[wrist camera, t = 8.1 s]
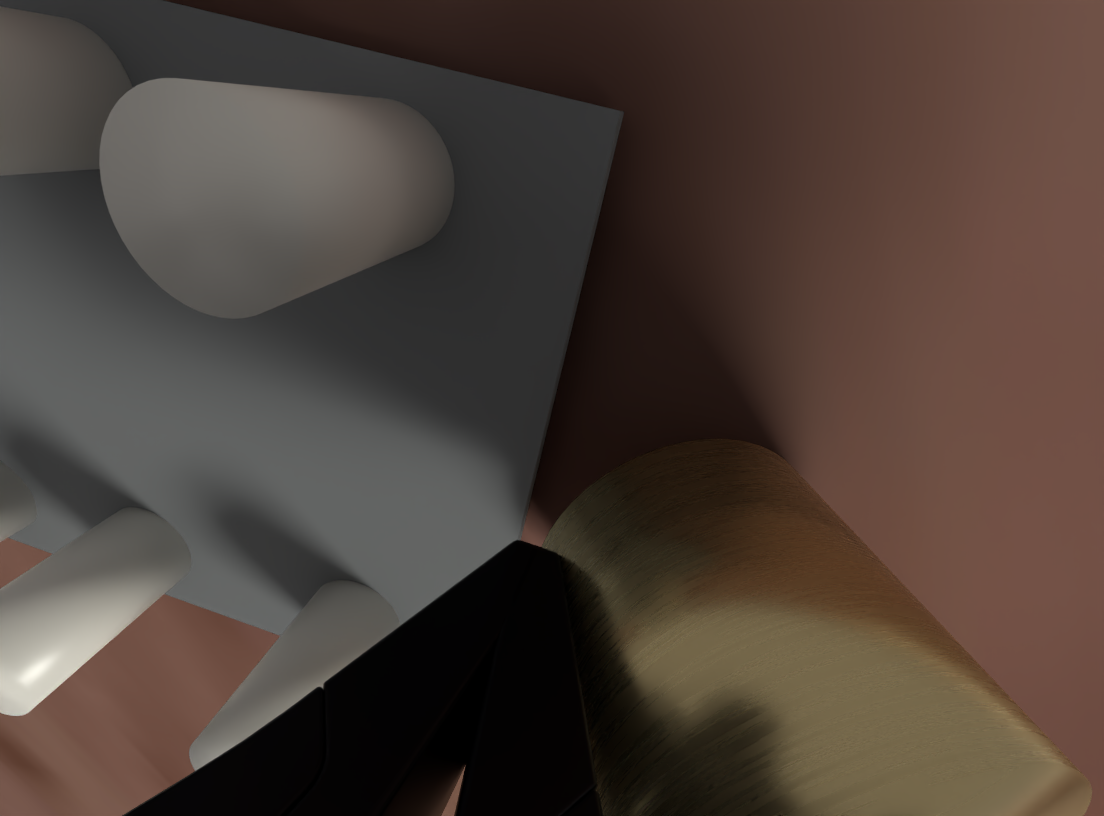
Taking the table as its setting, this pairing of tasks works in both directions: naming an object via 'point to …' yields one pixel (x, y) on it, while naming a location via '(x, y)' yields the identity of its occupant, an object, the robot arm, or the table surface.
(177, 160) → the spacers
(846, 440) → the table surface
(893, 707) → the knob
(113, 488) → the mat
